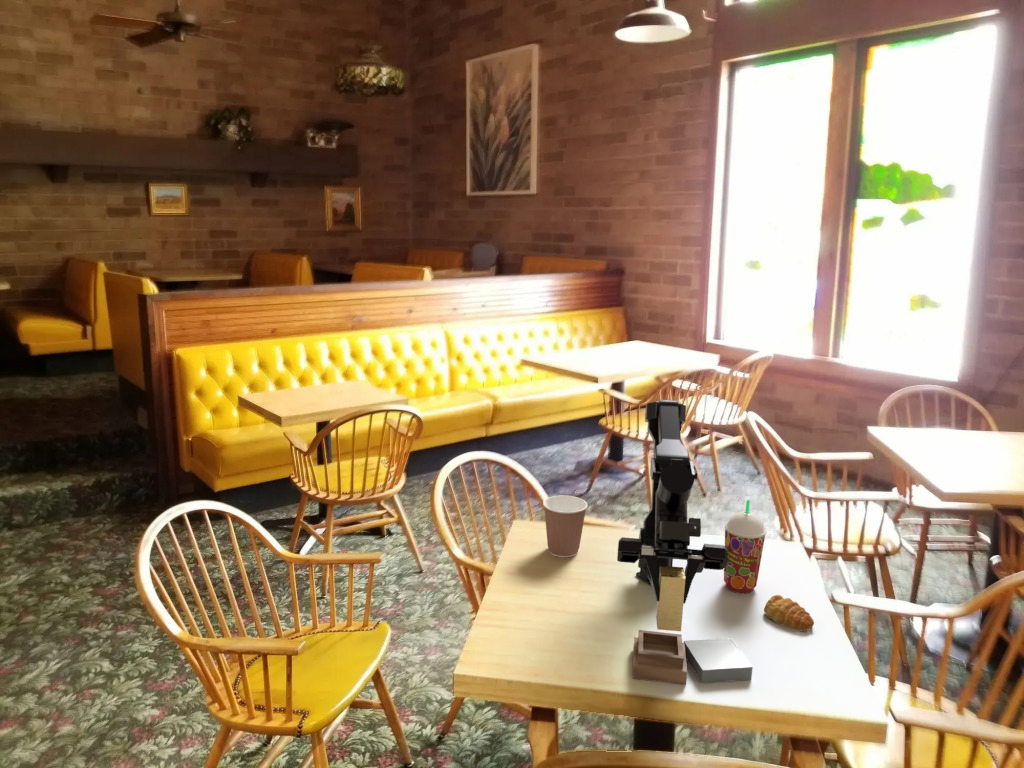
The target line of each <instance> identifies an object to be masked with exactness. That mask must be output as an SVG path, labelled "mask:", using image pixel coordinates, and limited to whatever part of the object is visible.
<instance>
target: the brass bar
mask: <svg viewBox="0 0 1024 768" xmlns="http://www.w3.org/2000/svg"><path fill="white" fill-rule="evenodd" d="M659 588H660V597H659V601H657V600H656V602H657V603H656V613H655V614H656V616H655V620H656V628H657V630H661V631H671V632H682V624H683V613H684V612H683V611H684V604H683V602H684V589H685V568H684V567H682V566H673V565H672V566H660V573H659Z"/></svg>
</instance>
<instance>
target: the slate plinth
mask: <svg viewBox="0 0 1024 768" xmlns="http://www.w3.org/2000/svg"><path fill="white" fill-rule="evenodd" d="M683 643H685V654H686V662H688V664H689V665H690V667H691V669H692V670H693V672H694V673H695V675H696V677H697V678H698V679H699V681H700V682H701V684H708V683H720V682H722V683H723V682H736V681H750V680H751V681H752V677H753V676H752V674H753V665H752V664H751V663H750V662H749V660H748V659H747V658H746V656H745V655H744V654H743V652H742V651H741V649H740V648H739V647H738V646H737V644H736V643H735V642H734V641H733V639H732V638H731V637H727V638H726V637H723V638H709V639H706V638H705V639H695V640H694V639H693V640H683Z"/></svg>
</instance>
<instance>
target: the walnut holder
mask: <svg viewBox="0 0 1024 768" xmlns="http://www.w3.org/2000/svg"><path fill="white" fill-rule="evenodd" d="M637 634H638V635H637V636H638V637H636V636H634V637H633V650H632V651H633V652H632V653H633V654H632V657H633V658H632V679H634V680H642V681H652V682H659V683H668V684H675V685H676V684H677V685H684V686H686V685H687V678H688V677H687V676H688V668H687V666H688V665H687V659H686V654H685V643H684V641H683V637H682V634H680V633H674V632H673V633H671V632H663V631H655V630H654V631H652V630H643V629H639V630H638V633H637Z"/></svg>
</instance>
